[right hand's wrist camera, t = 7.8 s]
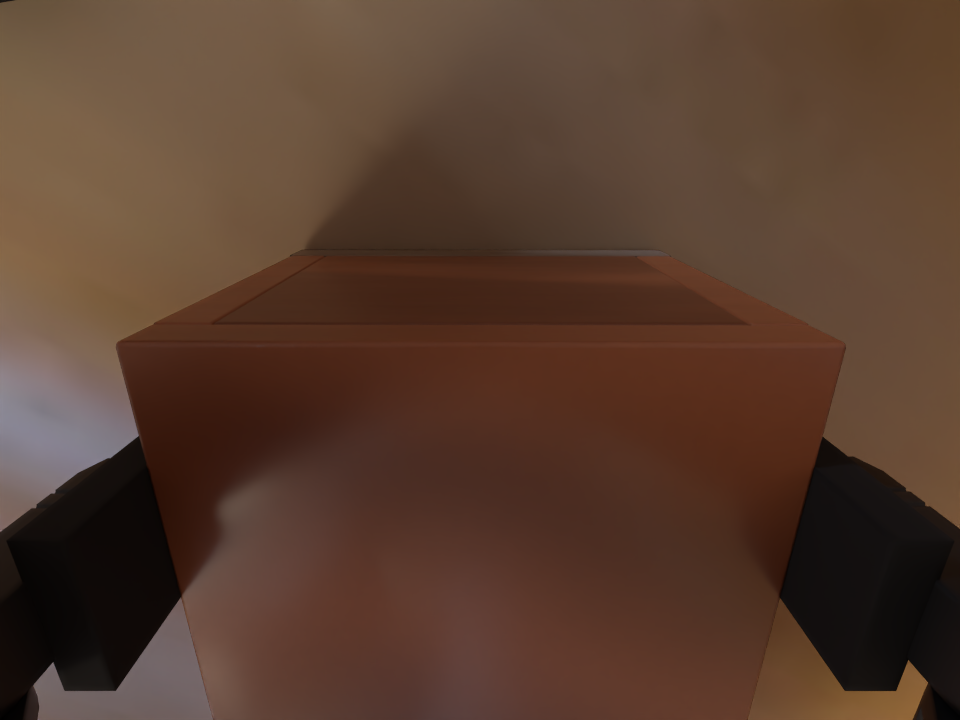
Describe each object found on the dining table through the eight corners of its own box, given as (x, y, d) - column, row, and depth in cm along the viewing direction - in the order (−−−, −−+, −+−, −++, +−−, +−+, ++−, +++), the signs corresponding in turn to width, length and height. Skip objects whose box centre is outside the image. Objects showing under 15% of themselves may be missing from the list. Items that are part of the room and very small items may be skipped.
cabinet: (602, 713, 23) (670, 1017, 15) (357, 713, 23) (288, 1016, 15) (659, 250, 16) (851, 342, 8) (301, 249, 16) (110, 341, 8)
